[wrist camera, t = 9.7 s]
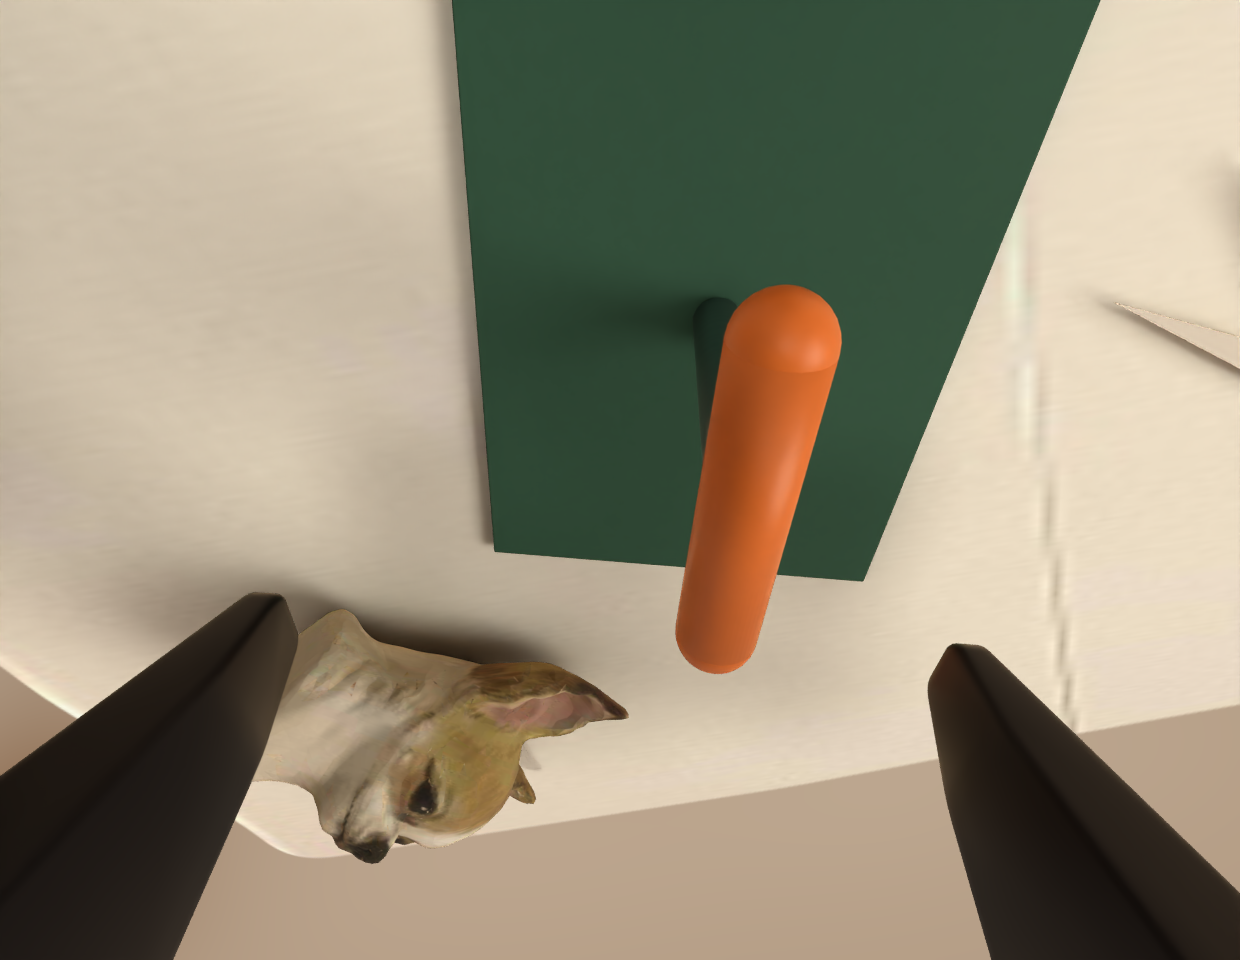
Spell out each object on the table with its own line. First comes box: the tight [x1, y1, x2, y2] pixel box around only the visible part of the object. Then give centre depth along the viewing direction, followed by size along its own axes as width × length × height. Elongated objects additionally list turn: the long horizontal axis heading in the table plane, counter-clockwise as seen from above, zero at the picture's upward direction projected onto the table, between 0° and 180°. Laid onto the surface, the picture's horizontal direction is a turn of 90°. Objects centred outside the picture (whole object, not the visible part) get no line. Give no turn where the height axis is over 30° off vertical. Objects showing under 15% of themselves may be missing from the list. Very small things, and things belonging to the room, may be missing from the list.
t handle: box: [675, 285, 842, 674], centre depth 16 cm, size 2×9×9 cm, turn 177°
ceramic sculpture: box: [252, 609, 629, 864], centre depth 28 cm, size 11×9×15 cm
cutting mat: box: [452, 0, 1100, 581], centre depth 20 cm, size 14×20×1 cm
